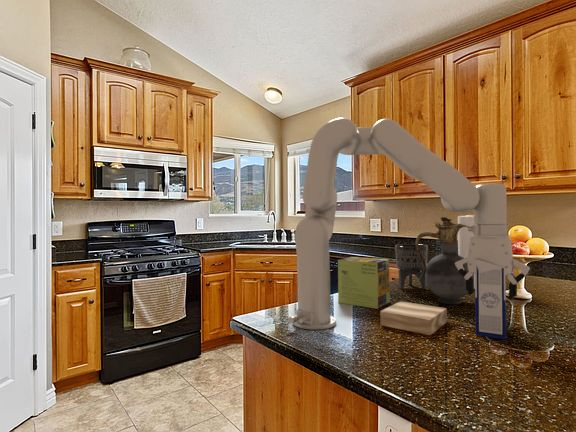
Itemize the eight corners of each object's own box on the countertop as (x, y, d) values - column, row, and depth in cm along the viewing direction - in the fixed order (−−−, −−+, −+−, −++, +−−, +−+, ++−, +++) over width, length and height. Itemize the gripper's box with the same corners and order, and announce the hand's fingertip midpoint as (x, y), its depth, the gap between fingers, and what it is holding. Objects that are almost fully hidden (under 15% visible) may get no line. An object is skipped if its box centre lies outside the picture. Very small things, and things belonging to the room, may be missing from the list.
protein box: (378, 309, 121) (377, 262, 121) (337, 302, 130) (337, 259, 130) (390, 302, 129) (389, 259, 129) (351, 297, 139) (350, 256, 138)
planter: (433, 286, 154) (432, 244, 153) (420, 292, 144) (420, 247, 144) (403, 283, 162) (403, 243, 162) (390, 288, 153) (389, 245, 152)
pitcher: (473, 308, 120) (472, 217, 119) (413, 302, 129) (412, 217, 129) (475, 300, 129) (474, 216, 129) (419, 295, 139) (417, 216, 138)
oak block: (430, 335, 95) (430, 319, 95) (380, 325, 104) (380, 311, 104) (446, 322, 106) (446, 308, 106) (400, 313, 115) (400, 301, 115)
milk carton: (477, 327, 100) (476, 255, 100) (506, 331, 97) (505, 256, 97) (475, 335, 94) (474, 258, 94) (506, 339, 91) (505, 259, 91)
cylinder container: (453, 285, 156) (452, 215, 156) (471, 283, 159) (470, 214, 159) (470, 289, 147) (469, 215, 147) (488, 287, 150) (488, 214, 150)
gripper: (450, 231, 98) (451, 294, 98) (527, 232, 87) (527, 304, 87) (458, 229, 104) (459, 289, 104) (531, 230, 93) (532, 298, 93)
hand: (490, 296), depth 96 cm, fingers open, 9 cm apart
